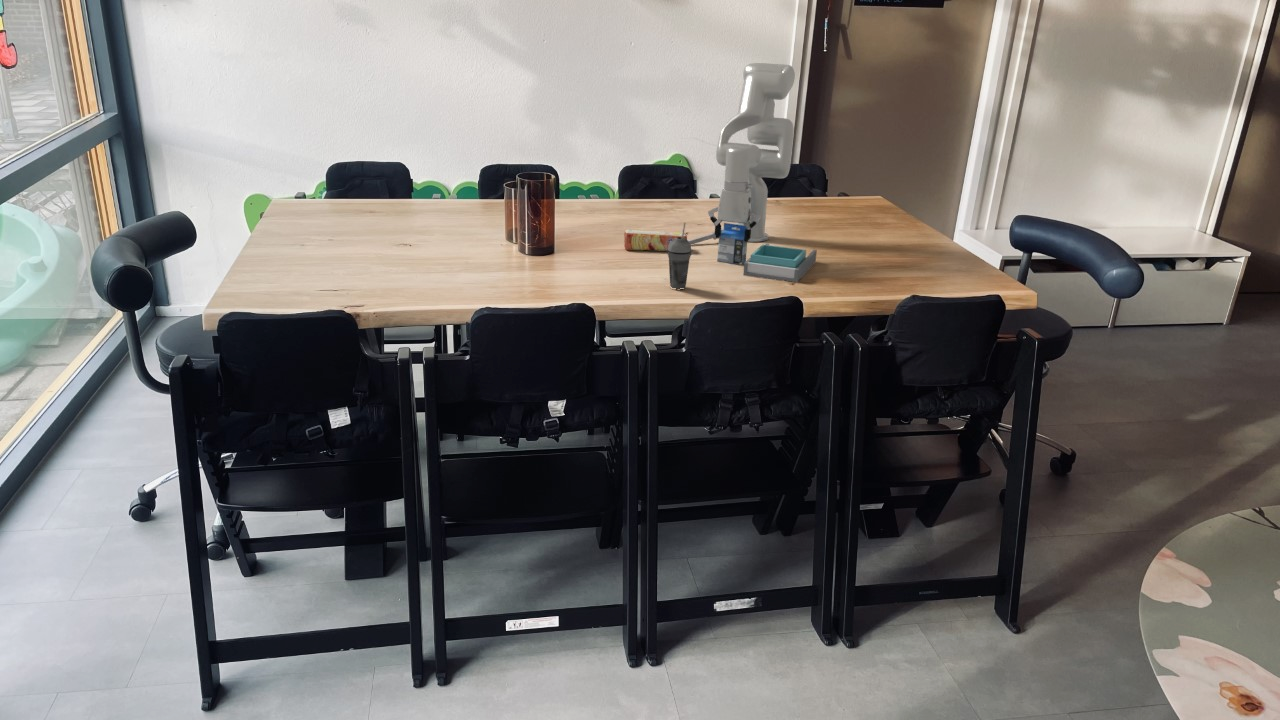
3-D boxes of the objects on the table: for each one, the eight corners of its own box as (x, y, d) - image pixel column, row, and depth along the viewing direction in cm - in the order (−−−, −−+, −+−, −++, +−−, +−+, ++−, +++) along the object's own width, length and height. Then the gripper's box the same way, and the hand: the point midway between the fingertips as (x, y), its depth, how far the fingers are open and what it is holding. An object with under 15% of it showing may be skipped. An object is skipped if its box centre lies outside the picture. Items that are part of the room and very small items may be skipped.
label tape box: (716, 261, 327) (718, 224, 323) (721, 258, 331) (723, 222, 326) (741, 265, 324) (744, 228, 319) (746, 262, 327) (748, 226, 322)
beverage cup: (664, 284, 302) (667, 219, 295) (688, 284, 303) (691, 219, 295) (667, 291, 295) (669, 225, 288) (691, 291, 296) (694, 225, 288)
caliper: (729, 241, 352) (730, 224, 350) (731, 242, 351) (732, 224, 349) (678, 246, 344) (679, 228, 342) (679, 247, 343) (680, 229, 341)
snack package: (686, 248, 341) (687, 229, 339) (686, 254, 335) (687, 234, 333) (624, 246, 342) (624, 227, 339) (623, 251, 336) (623, 232, 333)
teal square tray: (749, 270, 314) (750, 254, 312) (761, 259, 326) (762, 244, 324) (794, 276, 309) (795, 260, 307) (804, 265, 321) (806, 249, 319)
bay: (743, 275, 313) (744, 262, 312) (765, 255, 336) (766, 243, 334) (796, 282, 307) (798, 270, 306) (815, 261, 330) (816, 250, 328)
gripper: (765, 187, 318) (761, 240, 324) (713, 182, 324) (710, 233, 330) (759, 191, 311) (754, 244, 317) (706, 185, 317) (703, 238, 323)
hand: (732, 239), depth 323 cm, fingers open, 9 cm apart
